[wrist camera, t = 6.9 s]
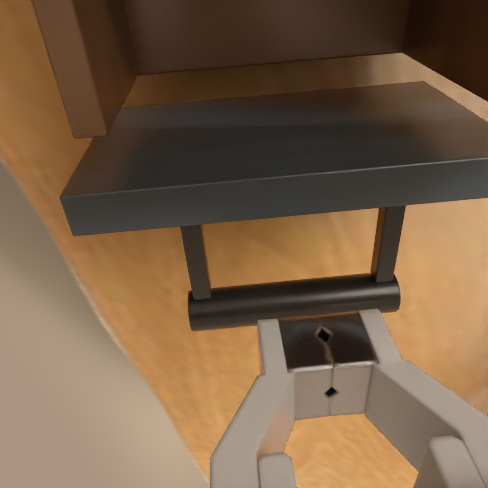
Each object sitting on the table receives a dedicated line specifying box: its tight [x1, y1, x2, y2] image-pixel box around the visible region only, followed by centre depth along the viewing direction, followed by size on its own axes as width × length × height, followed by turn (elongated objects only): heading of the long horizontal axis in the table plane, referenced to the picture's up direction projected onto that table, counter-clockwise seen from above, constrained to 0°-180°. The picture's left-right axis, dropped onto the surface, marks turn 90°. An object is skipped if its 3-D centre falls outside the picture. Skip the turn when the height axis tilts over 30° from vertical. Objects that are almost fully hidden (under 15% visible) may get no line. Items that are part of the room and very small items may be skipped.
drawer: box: [31, 0, 488, 331], centre depth 12 cm, size 17×12×7 cm
